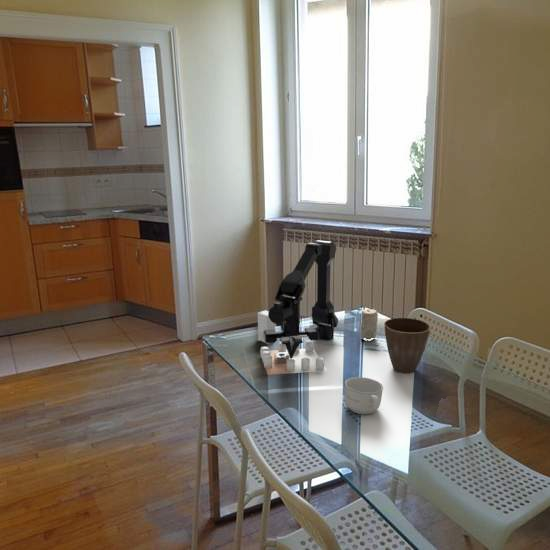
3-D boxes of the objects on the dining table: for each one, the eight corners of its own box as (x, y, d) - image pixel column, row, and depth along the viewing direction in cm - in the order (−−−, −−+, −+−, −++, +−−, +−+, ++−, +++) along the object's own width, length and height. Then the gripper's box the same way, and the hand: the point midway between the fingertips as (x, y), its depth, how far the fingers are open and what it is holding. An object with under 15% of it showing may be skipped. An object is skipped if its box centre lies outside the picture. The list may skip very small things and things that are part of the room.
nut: (286, 358, 181) (286, 351, 180) (289, 363, 177) (289, 356, 176) (274, 359, 180) (274, 352, 180) (276, 364, 176) (276, 357, 175)
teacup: (340, 400, 153) (341, 376, 152) (375, 399, 154) (377, 375, 152) (350, 425, 140) (352, 398, 138) (389, 424, 141) (391, 397, 139)
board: (313, 350, 191) (313, 339, 189) (327, 373, 171) (327, 361, 170) (258, 353, 187) (258, 341, 186) (266, 377, 168) (266, 364, 167)
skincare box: (276, 343, 197) (276, 313, 194) (267, 346, 194) (267, 316, 191) (266, 339, 201) (266, 309, 198) (257, 341, 199) (257, 311, 196)
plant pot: (394, 380, 167) (397, 334, 163) (373, 362, 181) (376, 319, 177) (435, 375, 171) (439, 330, 167) (411, 358, 185) (415, 316, 181)
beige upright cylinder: (357, 341, 200) (359, 312, 197) (362, 335, 207) (363, 306, 204) (373, 344, 197) (375, 314, 194) (377, 337, 204) (379, 308, 201)
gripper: (312, 307, 184) (311, 347, 188) (260, 309, 181) (261, 350, 185) (320, 317, 174) (319, 359, 177) (265, 319, 171) (265, 363, 174)
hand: (290, 358), depth 179 cm, fingers closed
